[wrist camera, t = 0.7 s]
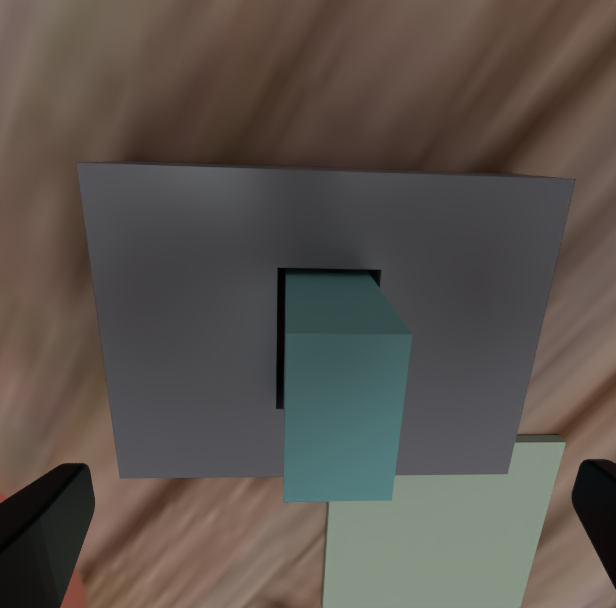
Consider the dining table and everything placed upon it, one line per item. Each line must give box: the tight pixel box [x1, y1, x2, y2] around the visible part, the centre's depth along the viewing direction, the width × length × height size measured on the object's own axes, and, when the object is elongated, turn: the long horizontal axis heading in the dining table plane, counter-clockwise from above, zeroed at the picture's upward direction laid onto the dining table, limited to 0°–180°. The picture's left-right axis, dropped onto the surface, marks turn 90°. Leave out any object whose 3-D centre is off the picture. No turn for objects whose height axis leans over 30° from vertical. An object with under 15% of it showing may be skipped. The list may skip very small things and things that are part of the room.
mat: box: [321, 435, 566, 608], centre depth 24 cm, size 12×12×1 cm
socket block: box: [76, 161, 576, 478], centre depth 18 cm, size 16×12×4 cm
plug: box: [283, 268, 412, 502], centre depth 15 cm, size 3×5×9 cm, turn 178°
